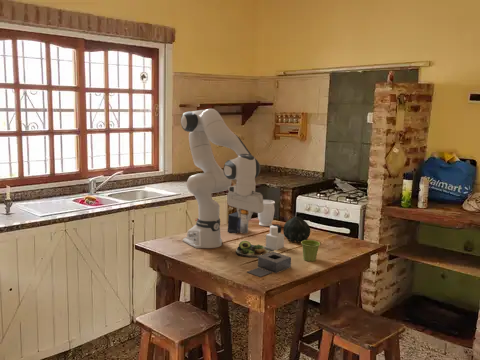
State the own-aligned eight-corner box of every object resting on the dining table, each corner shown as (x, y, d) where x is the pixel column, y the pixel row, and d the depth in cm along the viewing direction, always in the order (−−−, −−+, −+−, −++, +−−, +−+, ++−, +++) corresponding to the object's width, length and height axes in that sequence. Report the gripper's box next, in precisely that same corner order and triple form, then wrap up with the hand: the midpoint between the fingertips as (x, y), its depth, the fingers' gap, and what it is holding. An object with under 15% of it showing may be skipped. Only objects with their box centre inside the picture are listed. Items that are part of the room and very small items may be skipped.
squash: (301, 225, 279) (289, 208, 272) (319, 233, 267) (306, 215, 260) (286, 243, 276) (273, 227, 268) (303, 252, 264) (290, 234, 256)
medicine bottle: (273, 244, 260) (274, 223, 258) (284, 247, 256) (285, 225, 254) (265, 247, 255) (266, 225, 253) (276, 250, 250) (277, 228, 248)
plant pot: (323, 260, 238) (324, 243, 236) (311, 264, 231) (312, 247, 230) (308, 255, 244) (309, 238, 243) (296, 259, 238) (297, 242, 236)
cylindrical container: (238, 232, 225) (239, 209, 223) (243, 230, 228) (244, 208, 226) (244, 233, 222) (245, 210, 220) (249, 232, 225) (250, 209, 223)
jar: (277, 225, 300) (278, 201, 297) (265, 227, 293) (266, 203, 290) (265, 221, 307) (265, 198, 305) (253, 224, 300) (254, 200, 297)
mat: (247, 272, 218) (247, 271, 218) (258, 268, 224) (258, 267, 224) (260, 277, 213) (260, 276, 212) (271, 272, 218) (271, 272, 218)
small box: (236, 234, 278) (237, 216, 276) (227, 232, 281) (227, 214, 279) (245, 230, 287) (246, 212, 285) (236, 228, 290) (236, 211, 288)
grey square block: (257, 266, 225) (258, 256, 225) (272, 261, 233) (273, 251, 232) (275, 273, 218) (276, 262, 217) (290, 267, 226) (291, 257, 225)
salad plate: (275, 248, 254) (276, 240, 253) (272, 260, 236) (272, 251, 236) (239, 246, 257) (239, 237, 256) (233, 257, 239) (234, 248, 239)
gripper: (267, 192, 217) (266, 222, 219) (234, 185, 230) (233, 213, 233) (258, 194, 212) (256, 224, 215) (225, 186, 226) (224, 215, 228)
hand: (244, 218), depth 224 cm, fingers closed on cylindrical container, 4 cm apart
